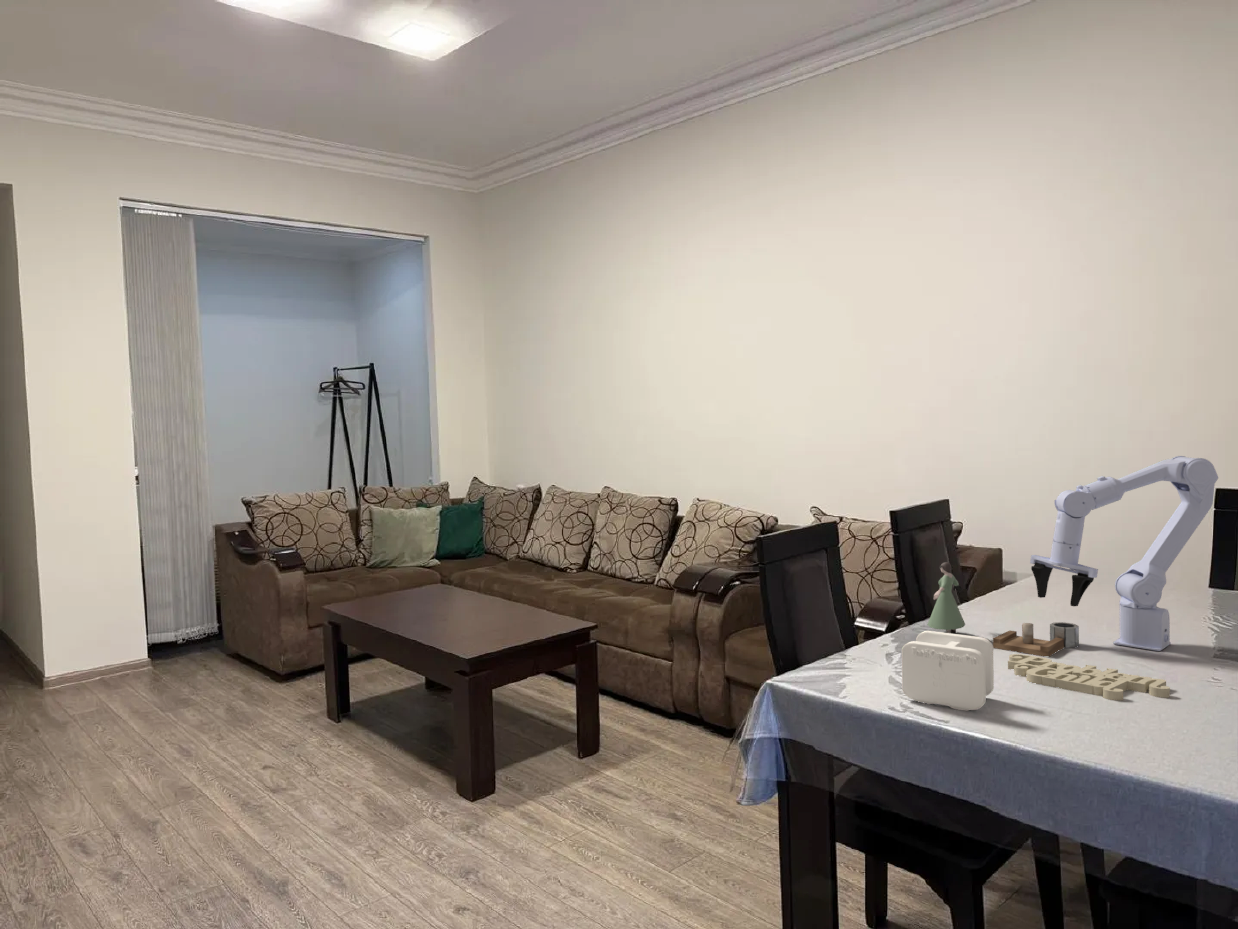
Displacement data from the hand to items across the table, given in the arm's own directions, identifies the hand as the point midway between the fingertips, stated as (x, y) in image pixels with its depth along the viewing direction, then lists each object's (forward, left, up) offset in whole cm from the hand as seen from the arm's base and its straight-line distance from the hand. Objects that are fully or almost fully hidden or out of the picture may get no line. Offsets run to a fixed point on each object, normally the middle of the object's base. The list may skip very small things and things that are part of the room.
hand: (1057, 601), depth 198 cm
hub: (-1, 0, -10) cm, 10 cm away
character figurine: (+23, +8, -10) cm, 26 cm away
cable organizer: (+1, +51, -10) cm, 52 cm away
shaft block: (+4, +7, -10) cm, 13 cm away
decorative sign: (-13, +25, -11) cm, 30 cm away
